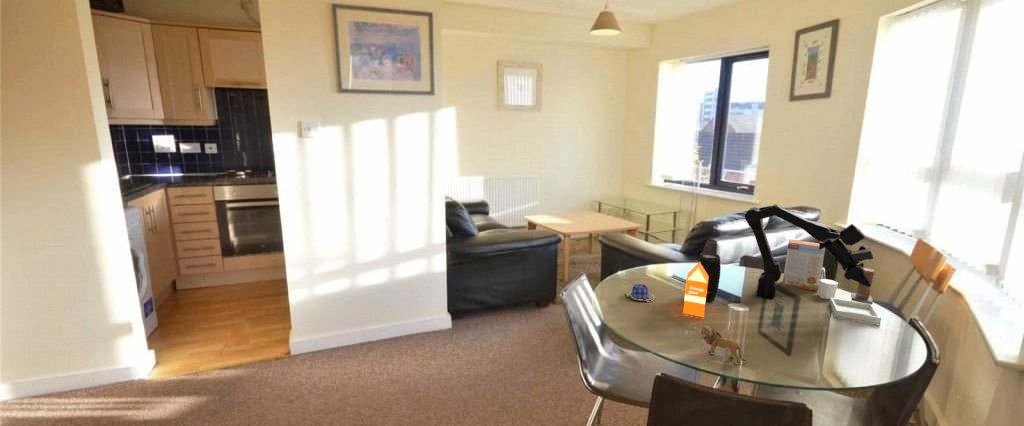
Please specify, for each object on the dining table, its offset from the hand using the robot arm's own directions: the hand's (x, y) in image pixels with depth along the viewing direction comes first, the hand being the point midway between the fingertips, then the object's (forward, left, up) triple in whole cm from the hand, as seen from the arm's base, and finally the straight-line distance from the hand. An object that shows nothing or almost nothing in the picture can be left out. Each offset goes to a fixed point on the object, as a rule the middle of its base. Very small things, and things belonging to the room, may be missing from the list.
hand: (869, 284), depth 176 cm
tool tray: (-3, +1, -13) cm, 14 cm away
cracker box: (-19, +25, -14) cm, 34 cm away
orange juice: (-60, -27, -14) cm, 67 cm away
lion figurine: (-49, -58, -14) cm, 77 cm away
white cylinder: (-10, +17, -14) cm, 24 cm away
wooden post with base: (-1, 0, -7) cm, 7 cm away
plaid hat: (-82, -22, -14) cm, 86 cm away
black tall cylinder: (-57, -11, -14) cm, 59 cm away
